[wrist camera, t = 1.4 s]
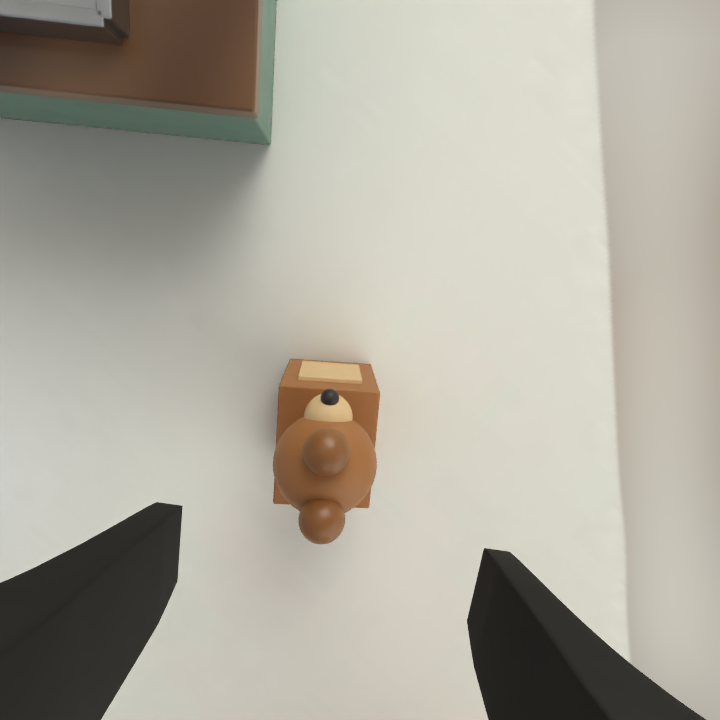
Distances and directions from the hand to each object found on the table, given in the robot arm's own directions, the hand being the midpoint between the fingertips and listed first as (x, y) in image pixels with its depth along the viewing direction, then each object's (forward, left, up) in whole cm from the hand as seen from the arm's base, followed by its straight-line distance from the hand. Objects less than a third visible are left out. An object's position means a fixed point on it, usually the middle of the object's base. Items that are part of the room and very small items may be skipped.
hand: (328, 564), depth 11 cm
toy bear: (0, 0, -11) cm, 11 cm away
